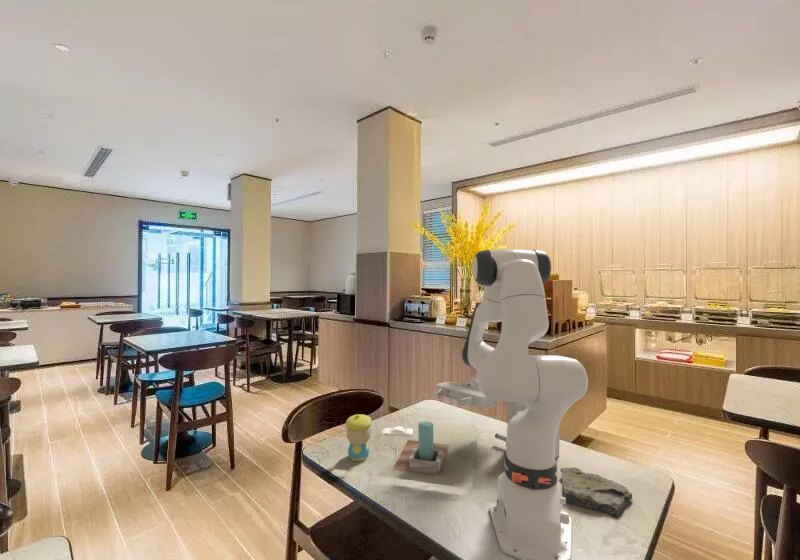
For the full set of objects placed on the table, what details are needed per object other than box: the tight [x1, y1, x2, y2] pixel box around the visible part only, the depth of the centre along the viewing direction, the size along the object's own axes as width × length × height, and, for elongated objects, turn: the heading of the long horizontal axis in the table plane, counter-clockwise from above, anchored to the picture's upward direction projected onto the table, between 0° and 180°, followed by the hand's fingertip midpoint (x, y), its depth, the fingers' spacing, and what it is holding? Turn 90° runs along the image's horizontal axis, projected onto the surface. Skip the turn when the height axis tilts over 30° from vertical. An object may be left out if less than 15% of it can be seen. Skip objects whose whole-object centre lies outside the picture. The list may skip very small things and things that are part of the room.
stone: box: [559, 467, 633, 518], centre depth 99 cm, size 18×15×4 cm
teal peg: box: [418, 421, 434, 461], centre depth 112 cm, size 4×4×12 cm
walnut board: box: [392, 439, 450, 477], centre depth 117 cm, size 20×14×4 cm
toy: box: [345, 413, 373, 462], centre depth 116 cm, size 8×9×15 cm
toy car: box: [381, 426, 414, 437], centre depth 135 cm, size 6×12×3 cm, turn 82°
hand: (447, 398), depth 117 cm, fingers open, 8 cm apart
